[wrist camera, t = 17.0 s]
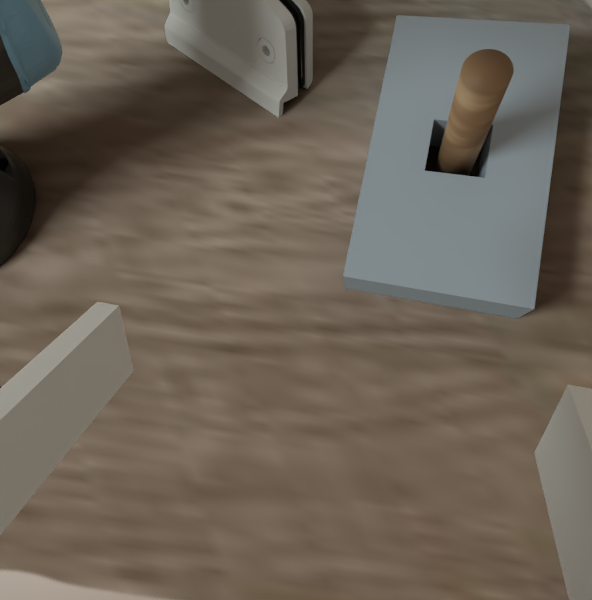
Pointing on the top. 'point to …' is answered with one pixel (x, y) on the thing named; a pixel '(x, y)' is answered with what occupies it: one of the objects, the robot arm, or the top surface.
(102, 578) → the top surface
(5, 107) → the top surface
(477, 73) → the peg
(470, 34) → the hole block
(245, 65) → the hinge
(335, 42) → the top surface
